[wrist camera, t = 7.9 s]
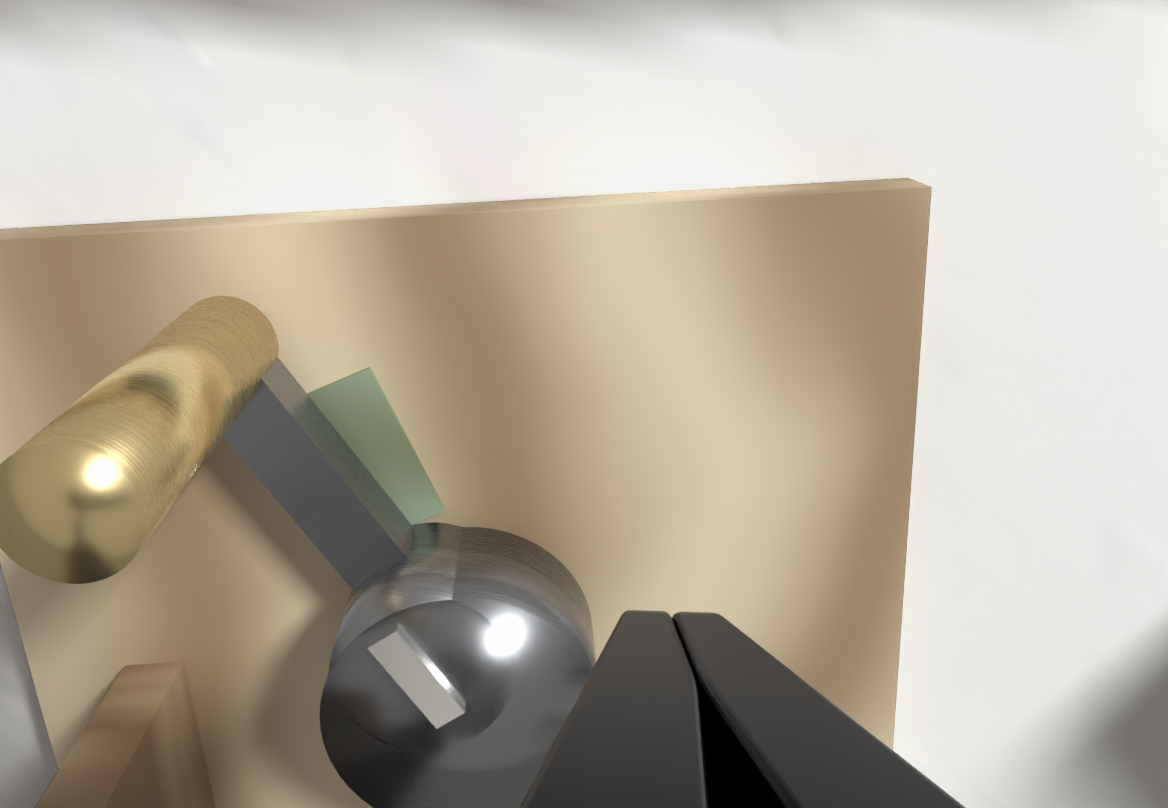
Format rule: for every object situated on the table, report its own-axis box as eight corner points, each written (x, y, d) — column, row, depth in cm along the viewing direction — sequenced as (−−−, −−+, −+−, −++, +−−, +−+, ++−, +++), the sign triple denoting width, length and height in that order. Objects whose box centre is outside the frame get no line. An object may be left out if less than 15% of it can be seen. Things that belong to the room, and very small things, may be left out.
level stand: (132, 928, 25) (17, 1191, 19) (-52, 231, 19) (-297, 318, 13) (865, 872, 25) (961, 1111, 20) (908, 177, 20) (1061, 239, 14)
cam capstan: (639, 663, 21) (687, 949, 15) (441, 776, 22) (403, 1095, 15) (310, 224, 18) (182, 339, 11) (88, 375, 19) (-153, 565, 12)
